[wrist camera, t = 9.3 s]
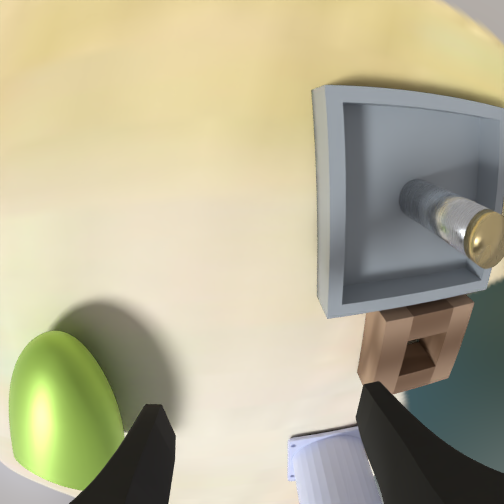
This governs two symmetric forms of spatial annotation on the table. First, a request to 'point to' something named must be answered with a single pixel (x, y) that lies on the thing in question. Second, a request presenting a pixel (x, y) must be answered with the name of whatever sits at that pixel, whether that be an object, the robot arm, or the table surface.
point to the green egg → (62, 411)
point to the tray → (397, 193)
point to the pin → (455, 221)
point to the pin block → (416, 354)
